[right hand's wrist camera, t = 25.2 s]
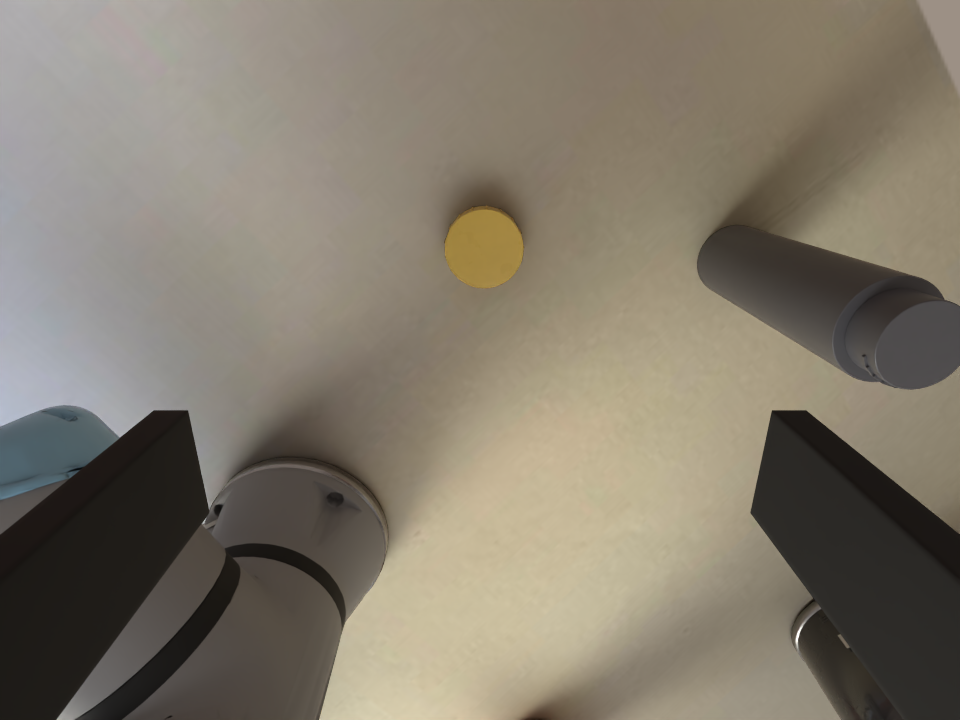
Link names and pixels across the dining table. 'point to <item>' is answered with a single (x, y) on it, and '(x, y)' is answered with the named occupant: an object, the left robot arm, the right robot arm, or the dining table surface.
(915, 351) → the jar
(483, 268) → the lid
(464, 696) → the dining table surface
